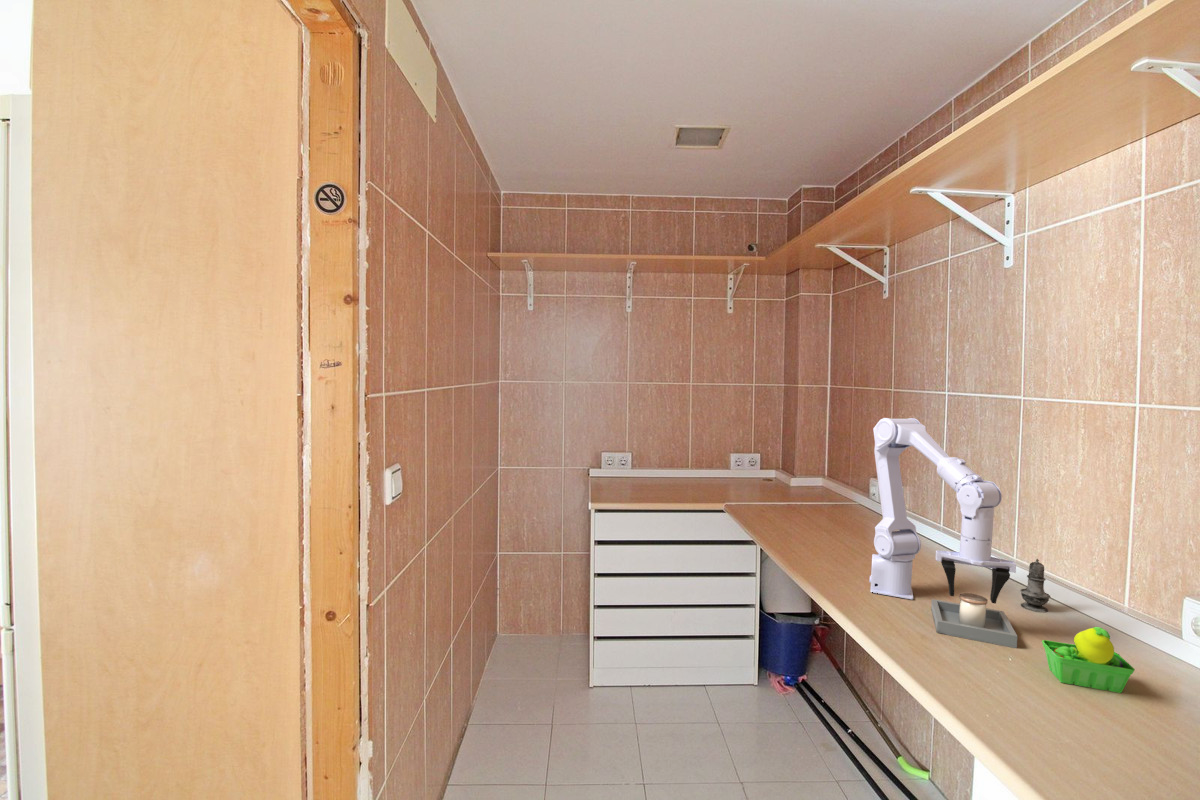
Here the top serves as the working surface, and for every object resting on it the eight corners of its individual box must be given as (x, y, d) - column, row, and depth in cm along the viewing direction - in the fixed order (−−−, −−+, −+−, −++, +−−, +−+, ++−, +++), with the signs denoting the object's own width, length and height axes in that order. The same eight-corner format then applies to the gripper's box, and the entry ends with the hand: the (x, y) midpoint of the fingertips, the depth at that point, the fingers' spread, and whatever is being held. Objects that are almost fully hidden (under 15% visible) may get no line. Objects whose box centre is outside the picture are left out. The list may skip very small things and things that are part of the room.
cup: (958, 625, 125) (959, 598, 124) (957, 617, 129) (958, 591, 129) (986, 631, 122) (988, 603, 122) (985, 622, 127) (986, 596, 126)
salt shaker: (1055, 614, 134) (1058, 563, 134) (1026, 611, 135) (1030, 561, 135) (1041, 604, 140) (1044, 556, 139) (1014, 601, 141) (1017, 553, 141)
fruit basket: (1112, 677, 106) (1116, 617, 105) (1139, 702, 97) (1144, 637, 97) (1038, 665, 110) (1042, 607, 109) (1058, 688, 101) (1062, 626, 101)
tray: (936, 632, 122) (937, 621, 122) (931, 609, 135) (931, 598, 135) (1016, 648, 116) (1017, 636, 116) (1003, 622, 129) (1003, 611, 129)
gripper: (939, 536, 124) (935, 597, 125) (1021, 547, 118) (1016, 611, 119) (936, 528, 130) (932, 587, 131) (1013, 538, 124) (1009, 600, 125)
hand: (972, 598), depth 125 cm, fingers open, 7 cm apart
